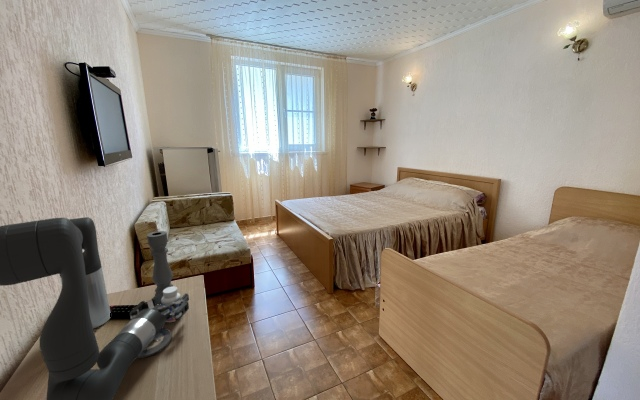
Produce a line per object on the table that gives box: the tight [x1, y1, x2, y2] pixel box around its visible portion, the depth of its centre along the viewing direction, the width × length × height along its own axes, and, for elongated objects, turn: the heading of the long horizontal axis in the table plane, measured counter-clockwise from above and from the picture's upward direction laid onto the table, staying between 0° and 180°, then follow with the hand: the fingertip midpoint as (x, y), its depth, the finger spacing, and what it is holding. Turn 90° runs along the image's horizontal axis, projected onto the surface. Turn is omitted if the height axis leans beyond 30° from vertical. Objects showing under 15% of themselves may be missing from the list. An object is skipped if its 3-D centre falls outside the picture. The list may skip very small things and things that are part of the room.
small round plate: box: [135, 328, 172, 359], centre depth 72 cm, size 10×10×1 cm
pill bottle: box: [161, 285, 182, 323], centre depth 82 cm, size 6×5×10 cm
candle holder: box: [146, 230, 174, 305], centre depth 89 cm, size 6×6×25 cm
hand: (173, 296), depth 83 cm, fingers open, 8 cm apart
